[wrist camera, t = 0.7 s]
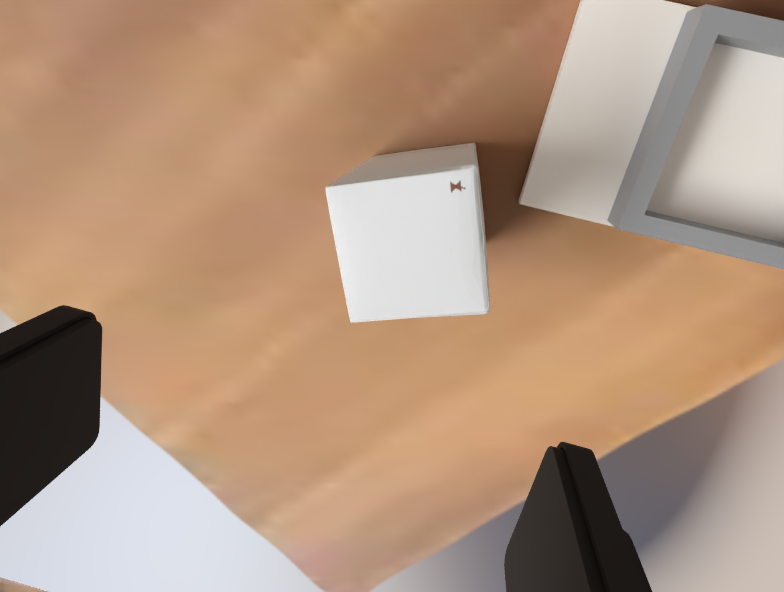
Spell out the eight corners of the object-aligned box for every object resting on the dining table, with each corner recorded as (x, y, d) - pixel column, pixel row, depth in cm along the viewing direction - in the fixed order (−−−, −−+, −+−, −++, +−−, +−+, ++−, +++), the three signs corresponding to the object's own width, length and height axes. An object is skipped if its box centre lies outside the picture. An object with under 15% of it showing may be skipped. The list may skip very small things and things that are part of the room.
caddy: (584, -13, 30) (598, -27, 27) (930, 62, 29) (987, 57, 26) (518, 201, 35) (523, 211, 32) (812, 271, 34) (848, 289, 31)
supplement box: (369, 154, 36) (320, 180, 24) (477, 140, 34) (482, 161, 23) (384, 256, 38) (346, 326, 26) (485, 247, 37) (493, 316, 25)
